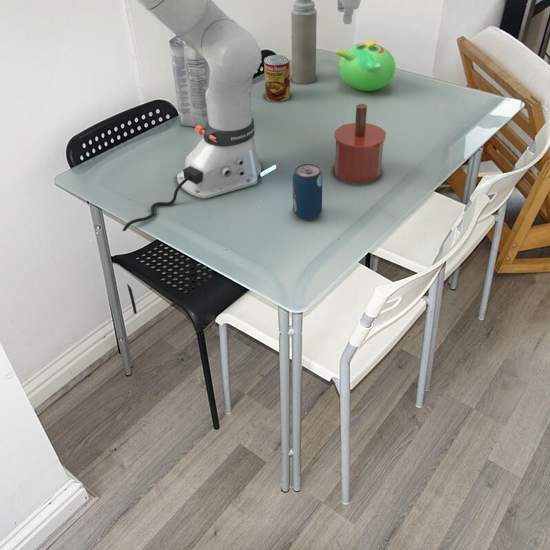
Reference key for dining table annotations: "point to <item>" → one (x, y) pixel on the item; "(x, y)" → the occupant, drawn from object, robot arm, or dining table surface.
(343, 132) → the lid
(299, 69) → the thermos bottle
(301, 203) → the soda can
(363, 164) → the pot
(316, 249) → the dining table surface
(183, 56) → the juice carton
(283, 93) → the canned food
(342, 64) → the toy bird
